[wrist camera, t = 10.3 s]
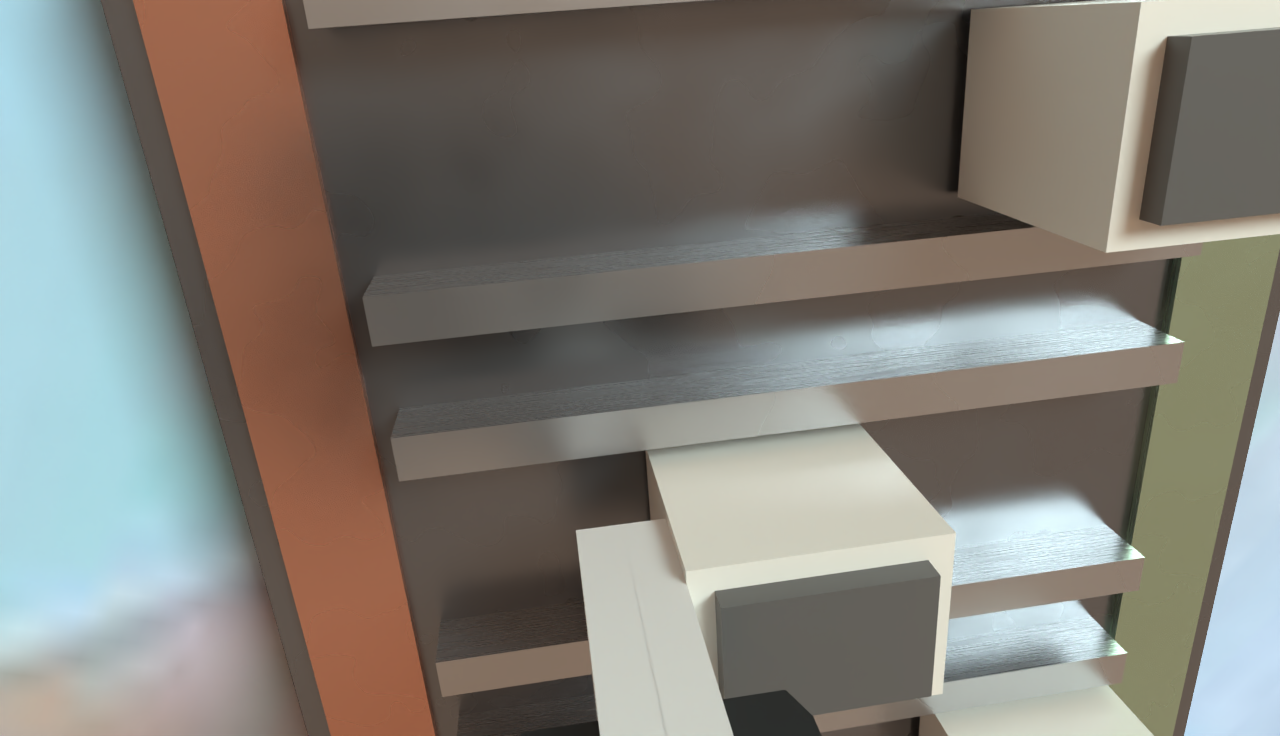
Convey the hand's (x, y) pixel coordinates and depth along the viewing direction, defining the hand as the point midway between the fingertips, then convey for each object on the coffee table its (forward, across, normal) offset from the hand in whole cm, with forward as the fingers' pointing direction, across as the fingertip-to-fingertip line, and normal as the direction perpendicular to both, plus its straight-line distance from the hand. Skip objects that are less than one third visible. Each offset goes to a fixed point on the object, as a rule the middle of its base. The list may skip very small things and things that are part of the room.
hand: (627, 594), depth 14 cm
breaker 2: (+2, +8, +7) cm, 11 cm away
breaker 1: (+2, +3, 0) cm, 3 cm away
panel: (+4, +3, 0) cm, 6 cm away
